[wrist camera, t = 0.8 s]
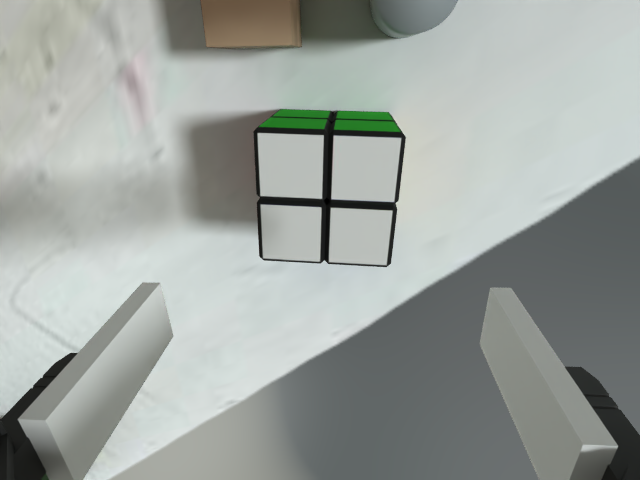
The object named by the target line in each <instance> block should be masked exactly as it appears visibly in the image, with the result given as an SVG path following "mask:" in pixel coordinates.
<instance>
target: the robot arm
mask: <svg viewBox="0 0 640 480" xmlns="http://www.w3.org/2000/svg"><path fill="white" fill-rule="evenodd" d="M172 338H173V333H172V329H171V324H170V320H169V316H168V312H167V308H166V304H165V300H164V296H163V291H162V287H161V283H142V284H141V285H140V286H139V287H138V288H137V289H136V290H135V291H134V292H133V294H132V295H131V296H130V297H129V298H128V299H127V300H126V301H125V302H124V303H123V304H122V306H121V307H120V308H119V309H118V310H117V311H116V312H115V313H114V314H113V315H112V316H111V318H110V319H109V320H108V321H107V322H106V323H105V324H104V325H103V326H102V327H101V329H100V330H99V331H98V332H97V333H96V334H95V335H94V336H93V337H92V338H91V339H90V341H89V342H88V343H87V344H86V345H85V346H84V347H83V348H82V349H81V350H80V351H79V353H70V354H68V355H67V356H65V357H64V358H62V359H61V360H59V361H58V362H56V363H55V364H54V365H53V366H52V367H51V368H50V369H49V370H48V371H47V372H46V373H45V374H44V375H43V378H40V379H39V380H38V381H37V382H36V383H35V384H34V385H33V388H31V389H30V390H29V391H28V392H27V393H26V394H25V395H24V396H23V397H22V398H21V399H20V400H19V401H18V402H17V403H16V404H15V405H14V406H13V407H12V408H11V409H10V411H9V412H8V413H7V414H6V415H5V416H4V417H3V418H2V419H1V420H0V480H41V479H42V478H43V476H44V475H45V473H46V475H47V477H48V478H49V480H83V478H84V477H85V475H86V474H87V472H88V471H89V469H90V467H91V466H92V464H93V463H94V461H95V459H96V458H97V456H98V455H99V453H100V452H101V450H102V448H103V447H104V445H105V444H106V442H107V440H108V439H109V437H110V436H111V434H112V433H113V431H114V429H115V428H116V426H117V425H118V423H119V421H120V420H121V418H122V417H123V415H124V414H125V412H126V410H127V409H128V407H129V406H130V404H131V403H132V401H133V399H134V398H135V396H136V395H137V393H138V391H139V390H140V388H141V387H142V385H143V384H144V382H145V380H146V379H147V377H148V376H149V374H150V372H151V371H152V369H153V368H154V366H155V365H156V363H157V361H158V360H159V358H160V357H161V355H162V353H163V352H164V350H165V349H166V347H167V346H168V344H169V342H170V341H171V339H172ZM480 346H481V348H482V351H483V353H484V355H485V357H486V360H487V362H488V364H489V366H490V369H491V371H492V373H493V376H494V378H495V380H496V383H497V385H498V387H499V389H500V392H501V394H502V396H503V398H504V401H505V403H506V405H507V408H508V410H509V412H510V414H511V417H512V419H513V421H514V423H515V426H516V428H517V430H518V432H519V435H520V437H521V439H522V441H523V444H524V446H525V448H526V451H527V453H528V455H529V457H530V460H531V462H532V464H533V467H534V469H535V471H536V473H537V476H538V478H539V480H640V435H639V434H638V432H637V431H636V430H635V428H634V427H633V426H632V424H631V423H630V422H629V420H628V419H627V418H626V417H625V415H624V414H623V413H622V411H621V410H619V409H618V406H617V405H616V403H615V402H614V401H613V399H612V398H611V397H609V394H608V393H607V392H606V390H605V389H604V387H603V386H602V385H601V383H600V382H599V381H598V380H597V379H596V378H595V377H593V376H592V375H591V374H590V373H588V372H587V371H586V370H584V369H583V368H582V367H564V365H563V364H562V362H561V361H560V360H559V358H558V357H557V355H556V354H555V352H554V351H553V349H552V348H551V346H550V345H549V344H548V342H547V340H546V339H545V337H544V336H543V334H542V333H541V332H540V330H539V329H538V327H537V326H536V324H535V323H534V321H533V320H532V318H531V317H530V315H529V314H528V312H527V311H526V310H525V308H524V306H523V305H522V304H521V302H520V301H519V299H518V298H517V296H516V295H515V293H514V292H513V290H512V289H511V288H490V292H489V297H488V303H487V308H486V313H485V318H484V324H483V329H482V334H481V339H480Z"/></svg>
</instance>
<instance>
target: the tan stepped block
mask: <svg viewBox="0 0 640 480" xmlns="http://www.w3.org/2000/svg"><path fill="white" fill-rule="evenodd" d="M201 8H202V16H203V24H204V32H205V40H206V47H214V48H230V49H233V48H282V47H302V40H301V10H300V0H201Z"/></svg>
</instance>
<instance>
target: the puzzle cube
mask: <svg viewBox="0 0 640 480" xmlns="http://www.w3.org/2000/svg"><path fill="white" fill-rule="evenodd" d="M405 139H406V137H405V135H404V134H403V133H402V131H401V130H400V128H399V127H398V126H397V123H396V122H395V120H394V119H393V117H392V116H391V115H390V114H389V112H360V111H337V112H336V113H335V114H333V113H332V112H331V111H321V110H289V109H281V110H279V111H278V112H277V113H275V114H274V115H273V116H271V117H270V118H269V119H268V120H266V121H265V122H264V123H262V124H261V125H260V126H259V127H258V128H257V129H256V130H255V131H254V150H255V170H256V190H257V195H258V196H259V197H260V199H259V200H258V202H257V217H258V237H259V256H260V257H261V258H262V259H263V260H268V261H286V262H304V263H321V262H323V261H324V260H325V261H326V262H327V263H328V264H340V265H358V266H376V267H387V266H388V265H390V264H391V258H392V249H393V240H394V232H395V223H396V214H397V207H396V204H395V203H396V202H397V201H398V199H399V191H400V182H401V173H402V165H403V156H404V148H405Z"/></svg>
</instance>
